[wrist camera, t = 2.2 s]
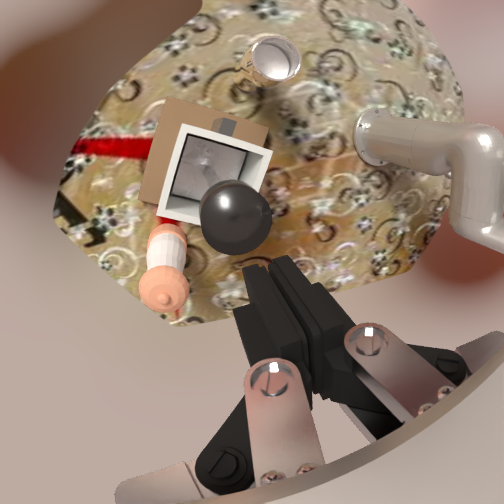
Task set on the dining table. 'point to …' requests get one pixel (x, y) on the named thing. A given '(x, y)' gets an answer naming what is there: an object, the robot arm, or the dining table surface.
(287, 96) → the dining table surface
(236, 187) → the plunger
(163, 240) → the salt shaker
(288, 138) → the dining table surface
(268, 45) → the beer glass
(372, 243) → the dining table surface
